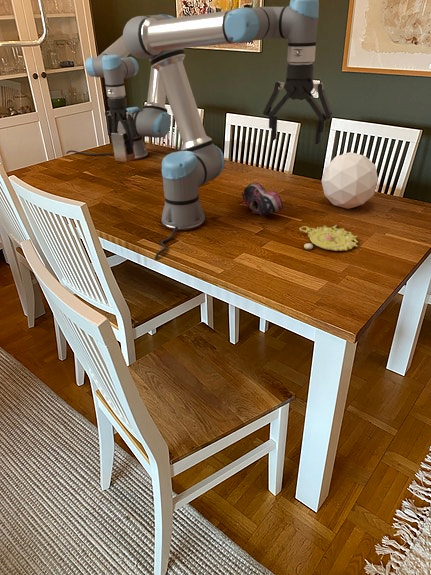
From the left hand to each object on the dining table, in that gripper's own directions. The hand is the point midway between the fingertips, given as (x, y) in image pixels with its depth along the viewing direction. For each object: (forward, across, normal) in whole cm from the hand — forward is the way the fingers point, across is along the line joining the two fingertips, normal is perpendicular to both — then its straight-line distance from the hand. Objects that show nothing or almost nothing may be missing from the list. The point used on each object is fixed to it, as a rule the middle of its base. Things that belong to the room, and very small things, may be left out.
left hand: (124, 152), depth 195 cm
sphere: (+10, +98, +3) cm, 98 cm away
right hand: (-19, +85, -24) cm, 90 cm away
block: (+3, 0, 0) cm, 3 cm away
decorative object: (+10, +99, -27) cm, 103 cm away
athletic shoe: (+10, +70, -14) cm, 72 cm away
